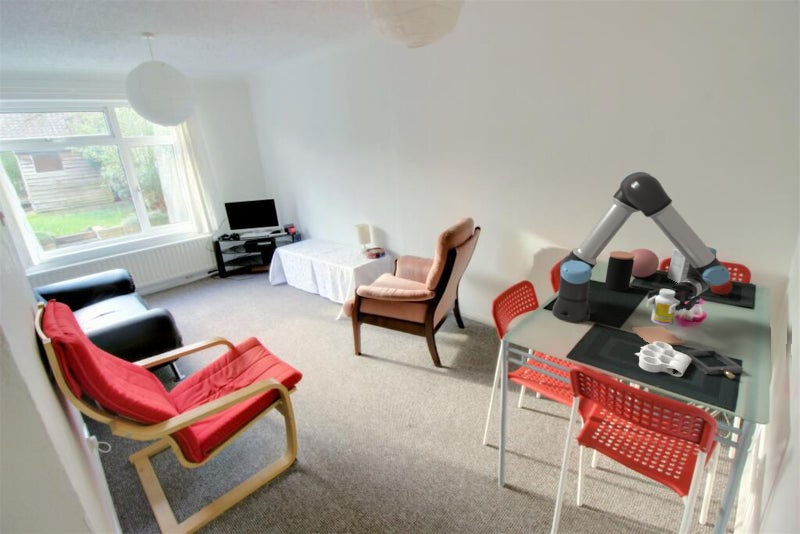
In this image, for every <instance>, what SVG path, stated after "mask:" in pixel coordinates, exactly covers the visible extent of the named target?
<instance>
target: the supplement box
mask: <svg viewBox="0 0 800 534" xmlns="http://www.w3.org/2000/svg"><path fill="white" fill-rule="evenodd" d="M688 268H689V262H688V261H687V259H686V258H685V257H684V256H683V255H682V254H681V252H680V251H679V250H678V249H677V248H673V249H672V254H671V259H670V265H669V268H668V274H667V278H669V279H671V280H673V281H675V282H677V283H679V282H681V281H683V280H685V279H686V276H687V272H688ZM669 279H668V280H669ZM671 280H670V281H671ZM673 281H672V282H673ZM675 282H674V283H675ZM677 283H676V284H677Z"/></svg>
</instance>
